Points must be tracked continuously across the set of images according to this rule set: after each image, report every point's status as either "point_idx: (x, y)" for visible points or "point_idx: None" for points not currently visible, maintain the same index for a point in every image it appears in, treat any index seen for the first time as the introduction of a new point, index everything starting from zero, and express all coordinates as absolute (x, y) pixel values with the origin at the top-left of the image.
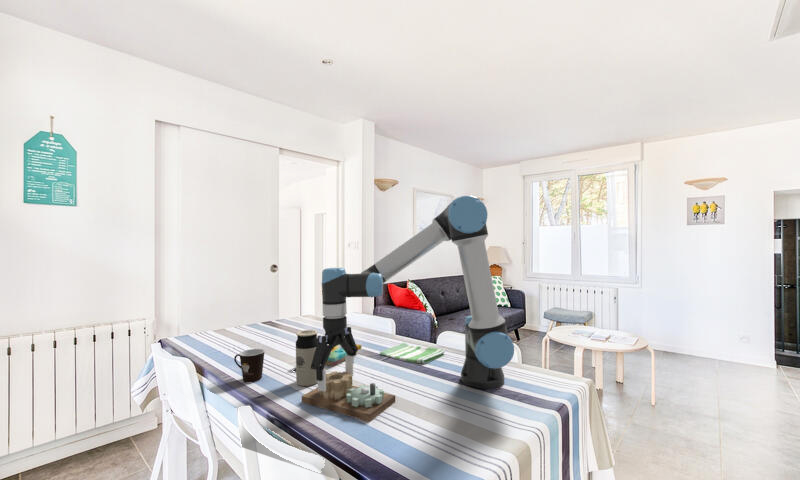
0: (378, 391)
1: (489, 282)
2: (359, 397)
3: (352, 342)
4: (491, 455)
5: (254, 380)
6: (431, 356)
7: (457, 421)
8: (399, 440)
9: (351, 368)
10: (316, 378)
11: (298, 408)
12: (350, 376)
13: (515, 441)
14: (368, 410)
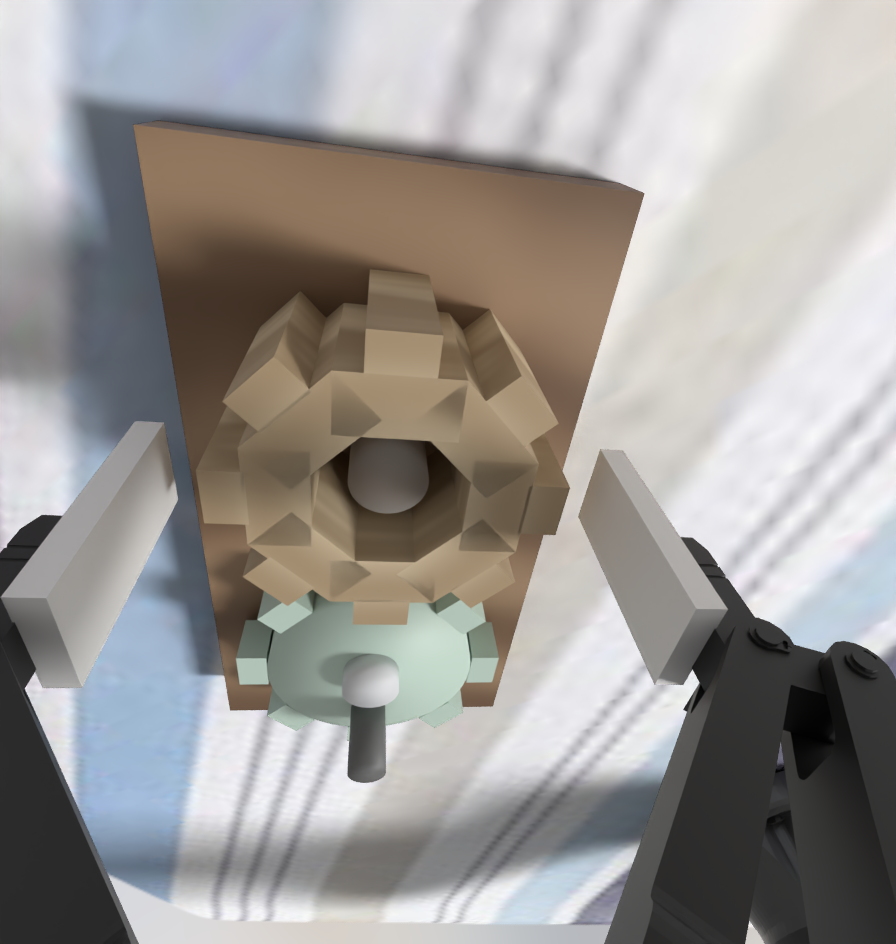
0: (419, 712)
1: None
2: (284, 679)
3: (807, 904)
4: (275, 907)
5: None
6: None
7: (412, 838)
8: (187, 786)
9: (604, 565)
10: (18, 533)
11: (49, 185)
12: (460, 599)
13: (369, 915)
14: (264, 690)
